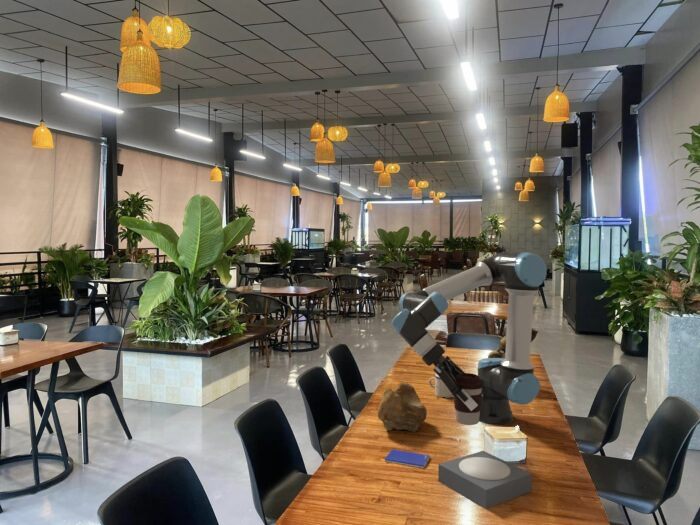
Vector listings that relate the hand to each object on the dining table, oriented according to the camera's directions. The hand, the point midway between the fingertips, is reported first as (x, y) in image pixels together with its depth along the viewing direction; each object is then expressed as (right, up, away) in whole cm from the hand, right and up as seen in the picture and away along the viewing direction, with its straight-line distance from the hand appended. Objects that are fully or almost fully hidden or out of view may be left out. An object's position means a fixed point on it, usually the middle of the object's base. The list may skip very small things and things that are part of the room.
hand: (477, 402), depth 167 cm
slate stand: (-3, -18, -19) cm, 27 cm away
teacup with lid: (0, -14, +65) cm, 67 cm away
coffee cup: (-3, -7, +1) cm, 7 cm away
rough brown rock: (-21, -16, +26) cm, 37 cm away
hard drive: (-23, -18, -2) cm, 29 cm away
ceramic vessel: (+34, -14, +75) cm, 84 cm away
